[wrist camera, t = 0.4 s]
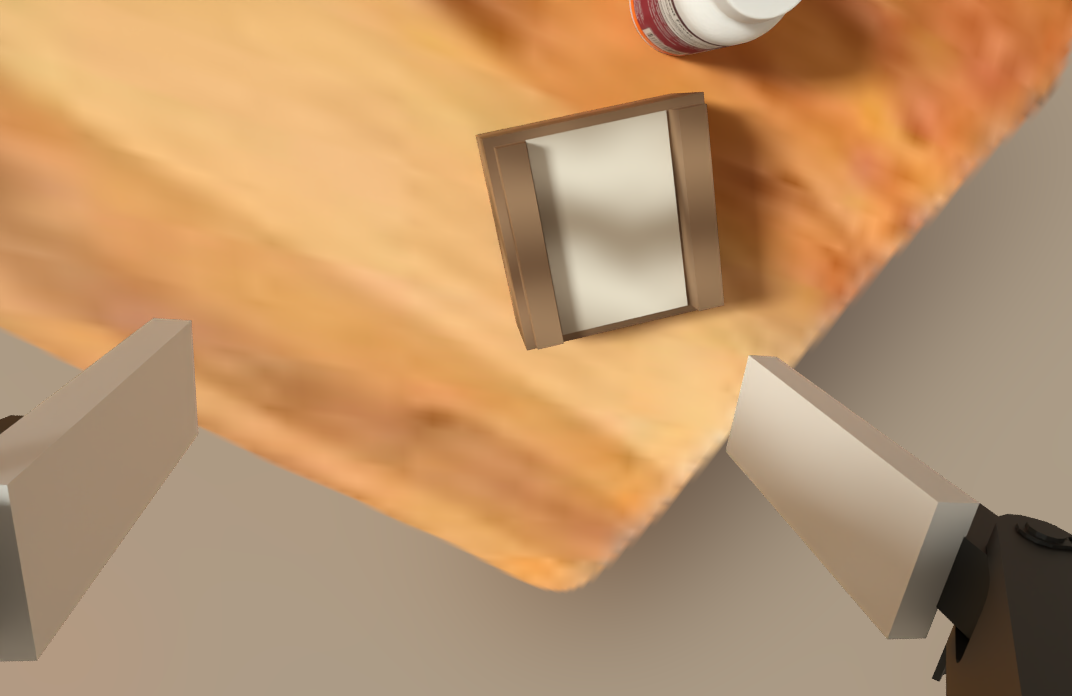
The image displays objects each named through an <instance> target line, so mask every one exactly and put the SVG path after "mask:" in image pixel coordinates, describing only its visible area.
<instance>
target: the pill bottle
mask: <svg viewBox="0 0 1072 696" xmlns="http://www.w3.org/2000/svg"><path fill="white" fill-rule="evenodd" d="M800 1H801V0H629V4H630V12H631V16H632V19H633V22H634V25H635V27H636V29H637V31H638V32H639V34H640V35H641V37H642V38H643V39H644V40H645V41H646V42H647V43H648V44H649V45H650V46H651V47H653V48H654V49H656V50H658V51H660V52H662V53H664V54H668V55H675V56H684V55H690V54H695V53H700V52H705V51H710V50H714V49H719V48H723V47H728V46H733V45H739V44H743V43H746V42H749V41H751V40H754V39H756V38H758V37H760V36H762V35H763V34H765V33H766V32H768V31H769V30H770V29H772V28H773V27H774V26H775V25H776V24H777V23H778V22H779V21H780V20H781V19H782V17H783V16H784V15H785V14H786V13H787V12H789V11H790V10H791V9H793V8H794V7H795V6H796V5H797V4H798V3H799V2H800Z"/></svg>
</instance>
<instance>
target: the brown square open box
mask: <svg viewBox="0 0 1072 696" xmlns="http://www.w3.org/2000/svg"><path fill="white" fill-rule="evenodd" d="M476 138H477V143H478V148H479V152H480V157H481V161H482V166H483V171H484V175H485V180H486V185H487V189H488V194H489V198H490V203H491V208H492V212H493V217H494V222H495V226H496V231H497V235H498V240H499V245H500V249H501V254H502V259H503V263H504V268H505V272H506V277H507V282H508V286H509V291H510V295H511V300H512V305H513V309H514V314H515V319H516V323H517V326H518V329H519V331H520V334H521V336H522V339H523V341H524V344H525V346H526V349H527V350H531V349H535V348H537V349H542V348H547V347H551V346H555V345H559V344H563V343H564V342H565V341H569V340H573V339H577V338H582V337H586V336H590V335H594V334H598V333H603V332H607V331H611V330H615V329H619V328H624V327H628V326H632V325H636V324H640V323H645V322H649V321H653V320H657V319H661V318H666V317H670V316H674V315H678V314H682V313H687V312H691V311H695V310H698V311H702V310H706V309H710V308H715V307H719V306H723V305H724V297H723V286H722V274H721V263H720V251H719V240H718V229H717V217H716V206H715V194H714V183H713V171H712V160H711V149H710V137H709V126H708V114H707V104H705V103H704V92H694V93H674V94H667V95H662V96H658V97H653V98H648V99H643V100H639V101H634V102H629V103H625V104H620V105H615V106H610V107H606V108H601V109H596V110H592V111H587V112H582V113H577V114H573V115H568V116H563V117H559V118H554V119H549V120H544V121H540V122H535V123H530V124H526V125H521V126H516V127H511V128H507V129H502V130H497V131H493V132H488V133H483V134H478V135H476Z"/></svg>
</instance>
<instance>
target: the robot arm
mask: <svg viewBox="0 0 1072 696" xmlns="http://www.w3.org/2000/svg"><path fill="white" fill-rule="evenodd" d="M197 435H198V421H197V405H196V388H195V371H194V354H193V337H192V321H191V320H175V319H159V318H153V319H151V320H150V321H149V322H147V323H146V324H145V325H143V326H142V327H141V328H140V329H138V330H137V331H136V332H134V333H133V334H132V335H130V336H129V337H128V338H126V339H125V340H124V341H122V342H121V343H120V344H118V345H117V346H116V347H114V348H113V349H112V350H111V351H109V352H108V353H107V354H105V355H104V356H103V357H101V358H100V359H99V360H97V361H96V362H95V363H93V364H92V365H91V366H89V367H88V368H87V369H86V370H84V371H83V372H82V373H80V374H79V375H78V376H77V377H75V378H74V379H72V380H71V381H70V382H68V383H67V384H66V385H64V386H63V387H62V388H61V389H59V390H58V391H57V392H55V393H54V394H53V395H51V396H50V397H49V398H47V399H46V400H45V401H43V402H42V403H41V404H39V405H38V406H37V407H36V408H34V409H33V410H32V411H30V412H29V413H28V414H26V415H25V416H14V415H11V416H8V417H5V418H3V419H0V661H35V660H36V661H37V660H38V659H39V657H40V656H41V655H42V653H43V652H44V650H45V649H46V648H47V646H48V645H49V643H50V642H51V640H52V639H53V638H54V636H55V635H56V633H57V632H58V631H59V629H60V628H61V626H62V625H63V624H64V622H65V621H66V619H67V618H68V617H69V615H70V614H71V612H72V611H73V610H74V608H75V607H76V605H77V604H78V602H79V601H80V599H81V598H82V596H83V595H84V594H85V593H86V591H87V590H88V588H89V587H90V585H91V584H92V583H93V581H94V580H95V578H96V577H97V576H98V574H99V573H100V572H101V570H102V569H103V567H104V566H105V565H106V563H107V562H108V560H109V559H110V557H111V556H112V555H113V553H114V552H115V550H116V549H117V547H118V546H119V545H120V543H121V542H122V541H123V539H124V538H125V536H126V535H127V534H128V532H129V531H130V529H131V528H132V526H133V525H134V524H135V522H136V521H137V519H138V518H139V517H140V515H141V514H142V512H143V511H144V510H145V508H146V507H147V505H148V504H149V503H150V501H151V500H152V498H153V497H154V495H155V494H156V493H157V491H158V490H159V489H160V487H161V486H162V484H163V483H164V482H165V480H166V479H167V477H168V476H169V474H170V473H171V472H172V470H173V469H174V467H175V466H176V465H177V463H178V462H179V460H180V459H181V458H182V456H183V455H184V453H185V452H186V451H187V449H188V448H189V446H190V445H191V444H192V442H193V441H194V439H195V438H196V436H197ZM726 452H727V453H728V454H729V456H730V457H731V458H732V459H733V460H734V462H735V463H736V464H737V465H738V466H739V467H740V468H741V470H742V471H743V472H744V473H745V474H746V475H747V477H748V478H749V479H750V480H751V481H752V482H753V483H754V485H755V486H756V487H757V488H758V489H759V490H760V492H761V493H762V494H763V495H764V496H765V498H766V499H767V500H768V501H769V502H770V503H771V504H772V505H773V507H774V508H775V509H776V510H777V512H778V513H779V514H780V515H781V516H782V517H783V518H784V520H785V521H786V522H787V523H788V524H789V525H790V527H791V528H792V529H793V530H794V531H795V532H796V534H797V535H798V536H799V537H800V538H801V539H802V540H803V542H804V543H805V544H806V545H807V546H808V548H809V549H810V550H811V551H812V552H813V553H814V555H816V557H817V558H818V559H819V560H820V562H821V563H822V564H823V565H824V566H825V567H826V568H827V570H828V571H829V572H830V573H831V574H832V575H833V577H834V578H835V579H836V580H837V581H838V582H839V584H840V585H841V586H842V587H843V588H844V589H845V591H846V592H847V593H848V594H849V595H850V596H851V598H852V599H853V600H854V601H855V602H856V603H857V605H858V606H859V607H860V608H861V609H862V610H863V612H864V613H865V614H866V615H867V616H868V617H869V619H870V620H871V621H872V622H873V623H874V624H875V626H876V627H877V628H878V629H879V630H880V631H881V632H882V634H883V635H884V636H885V637H886V638H887V639H917V638H926V637H927V634H928V631H929V629H930V627H931V624H932V622H933V619H934V617H935V614H936V611H937V609H939V610H940V611H941V612H942V613H943V614H944V615H945V616H946V617H947V618H948V619H949V620H950V621H951V622H952V623H953V624H954V626H953V628H952V631H951V633H950V636H949V638H948V641H947V643H946V645H945V648H944V650H943V653H942V655H941V657H940V660H939V663H938V665H937V667H936V670H935V672H934V675H933V677H932V679H934V680H937V681H940V679H941V677H942V675H944V674H946V696H1072V535H1071V534H1069V533H1068V532H1066V531H1064V530H1062V529H1060V528H1058V527H1057V526H1055V525H1052V524H1049V523H1048V522H1045V521H1041V520H1038V519H1034V518H1030V517H1026V516H1022V515H1013V514H1006V515H1002V516H999V517H998V516H997V515H995V514H994V513H993V512H991V511H990V510H988V509H987V508H986V507H984V506H983V505H982V504H980V503H979V502H977V501H976V500H975V499H973V498H972V497H970V496H969V495H967V494H966V493H965V492H963V491H962V490H961V489H959V488H958V487H957V486H955V485H954V484H952V483H951V482H950V481H948V480H947V479H945V478H944V477H943V476H941V475H940V474H938V473H937V472H936V471H934V470H933V469H931V468H930V467H929V466H927V465H926V464H925V463H923V462H922V461H920V460H919V459H918V458H916V457H915V456H913V455H912V454H911V453H909V452H908V451H907V450H905V449H904V448H902V447H901V446H900V445H898V444H897V443H895V442H894V441H893V440H891V439H890V438H888V437H887V436H886V435H884V434H883V433H882V432H880V431H879V430H877V429H876V428H875V427H873V426H872V425H870V424H869V423H868V422H866V421H865V420H863V419H862V418H861V417H859V416H858V415H857V414H855V413H853V412H852V411H851V410H850V409H848V408H847V407H845V406H844V405H843V404H841V403H840V402H838V401H837V400H836V399H834V398H833V397H832V396H830V395H829V394H827V393H826V392H825V391H823V390H822V389H820V388H819V387H818V386H816V385H815V384H813V383H812V382H811V381H809V380H808V379H807V378H805V377H804V376H802V375H801V374H800V373H798V372H797V371H795V370H794V369H793V368H791V367H790V366H788V365H787V364H786V363H784V362H783V361H782V360H780V359H779V358H777V357H771V356H755V355H749V356H748V361H747V365H746V369H745V373H744V377H743V381H742V386H741V390H740V394H739V398H738V402H737V406H736V411H735V415H734V419H733V423H732V427H731V431H730V435H729V440H728V444H727V448H726Z"/></svg>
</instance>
